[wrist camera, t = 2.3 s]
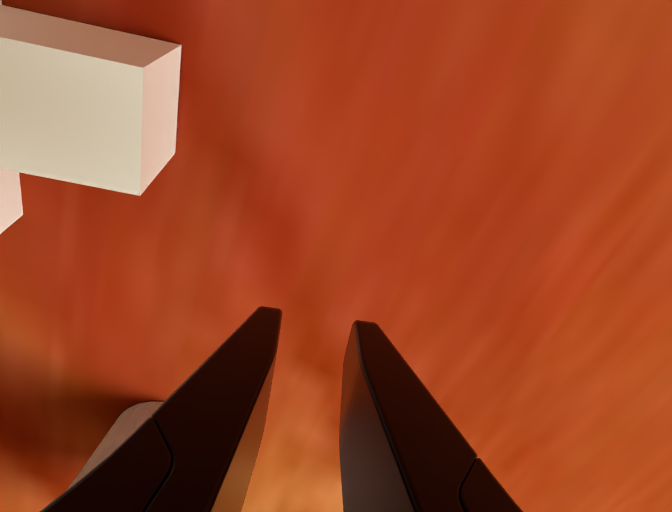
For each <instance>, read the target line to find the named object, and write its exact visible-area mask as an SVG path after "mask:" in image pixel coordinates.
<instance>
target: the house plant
mask: <svg viewBox="0 0 672 512" xmlns="http://www.w3.org/2000/svg"><path fill="white" fill-rule="evenodd" d="M163 403H164V402H145V403H139V404H136V405H134V406H132V407H130V408H128V409H126V410H125V411H124V412H123V413H122V414H121V415H120V416H119V417H118V419H117V420H116V422H115V423H114V424H113V426H112V427H111V429H110V430H109V431H108V433H107V434H106V436H105V437H104V439H103V440H102V441H101V443H100V444H99V446H98V447H97V448H96V450H95V451H94V453H93V454H92V455H91V457H90V458H89V460H88V461H87V463H86V464H85V465H84V467H83V468H82V470H81V471H80V472H79V474H78V475H77V477H76V478H75V479H74V481H73V482H72V484H71V485H70V487H71V486H73V485H74V484H75V483H76V482H78V481H79V480H80V479H81V478H83V477H84V476H85V475H86V474H87V473H89V472H90V471H91V470H92V469H93V468H95V467H96V466H97V465H98V464H99V463H101V462H102V461H103V460H104V459H105V458H107V457H108V456H109V455H110V454H111V453H112V452H113V451H114V450H115V449H116V448H117V447H118V446H120V445H121V444H122V443H123V442H124V441H125V440H126V439H127V438H128V437H129V436H130V435H131V434H132V433H133V432H134V431H135V430H136V429H137V428H138V427H139V426H140V425H141V424H142V423H143V422H144V421H145V420H146V419H147V418H149V417H151V415H152V414H153V413H154V412H155V411H156V410H157V409H158V408H159V407H160V406H161V405H162V404H163ZM70 487H69V488H70ZM69 488H68V489H69ZM68 489H67V490H68Z"/></svg>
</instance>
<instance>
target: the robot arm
mask: <svg viewBox="0 0 672 512" xmlns="http://www.w3.org/2000/svg"><path fill="white" fill-rule="evenodd" d="M281 319H282V310H280V309H277V308H271V307H264V306H261V307H259V308H258V309H257V310H256V311H255V312H254V313H253V314H252V315H251V316H250V317H249V318H248V319H247V320H246V321H245V322H244V323H243V324H242V325H241V326H240V327H239V328H238V329H237V330H236V331H235V332H234V333H233V334H232V335H231V336H230V337H229V338H228V339H227V340H226V341H225V342H224V343H223V344H222V345H221V346H220V347H219V348H218V349H217V350H216V351H215V352H214V353H213V354H212V355H211V356H210V357H209V358H208V359H207V360H206V361H205V362H204V363H203V364H202V365H201V366H200V367H199V368H198V369H197V370H196V371H195V372H194V373H193V374H192V375H191V376H190V377H189V378H188V379H187V380H186V381H185V382H184V383H183V384H182V385H181V386H180V387H179V388H178V389H177V390H176V391H175V392H174V393H173V394H172V395H171V396H170V397H169V398H168V399H167V400H166V401H165V402H164V403H163V404H162V405H161V406H160V407H159V408H158V409H157V410H156V411H155V412H154V413H153V414H152V415H151V417H149V418H147V419H146V420H145V421H144V422H143V423H142V424H141V425H140V426H139V427H138V428H137V429H136V430H135V431H134V432H133V433H132V434H131V435H130V436H129V437H128V438H127V439H126V440H125V441H124V442H123V443H122V444H121V445H120V446H118V447H117V448H116V449H115V450H114V451H113V452H112V453H111V454H110V455H109V456H108V457H107V458H105V459H104V460H103V461H102V462H101V463H99V464H98V465H97V466H96V467H95V468H93V469H92V470H91V471H90V472H89V473H87V474H86V475H85V476H84V477H83V478H81V479H80V480H79V481H78V482H76V483H75V484H74V485H73V486H71V487H70V488H69V489H68V490H66V491H65V492H64V493H63V494H61V495H60V496H59V497H58V498H56V499H55V500H54V501H53V502H51V503H50V504H49V505H48V506H46V507H45V508H44V509H43V510H41V511H40V512H241V510H242V506H243V503H244V499H245V496H246V492H247V489H248V485H249V482H250V478H251V475H252V471H253V468H254V465H255V461H256V458H257V454H258V451H259V447H260V444H261V440H262V436H263V432H264V426H265V421H266V415H267V409H268V403H269V397H270V391H271V384H272V378H273V372H274V366H275V360H276V354H277V348H278V341H279V334H280V326H281ZM339 448H340V466H341V481H342V496H343V510H344V512H523V511H522V510H521V509H520V507H519V506H518V505H517V504H516V503H515V502H514V500H513V499H512V498H511V497H510V495H509V494H508V493H507V492H506V491H505V489H504V488H503V487H502V486H501V484H500V483H499V482H498V481H497V479H496V478H495V477H494V476H493V474H492V473H491V472H490V470H489V469H488V468H487V466H486V465H485V464H484V463H483V461H482V460H481V459H480V458H477V454H476V452H475V451H474V450H473V448H472V447H471V446H470V445H469V443H468V442H467V441H466V439H465V438H464V437H463V435H462V434H461V433H460V432H459V430H458V429H457V428H456V426H455V425H454V424H453V422H452V421H451V420H450V418H449V417H448V416H447V415H446V413H445V412H444V411H443V409H442V408H441V407H440V405H439V404H438V403H437V401H436V400H435V399H434V398H433V396H432V395H431V394H430V392H429V391H428V390H427V388H426V387H425V386H424V384H423V383H422V382H421V381H420V379H419V378H418V377H417V375H416V374H415V373H414V371H413V370H412V369H411V368H410V366H409V365H408V364H407V362H406V361H405V360H404V358H403V357H402V356H401V354H400V353H399V352H398V351H397V349H396V348H395V347H394V345H393V344H392V343H391V341H390V340H389V339H388V337H387V336H386V335H385V334H384V332H383V331H382V330H381V328H380V327H379V326H378V325H377V324H376V323H373V322H366V321H360V320H356V321H355V322H354V323H353V325H352V328H351V332H350V336H349V340H348V344H347V348H346V352H345V357H344V363H343V378H342V395H341V413H340V431H339ZM476 458H477V459H476Z"/></svg>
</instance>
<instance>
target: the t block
mask: <svg viewBox="0 0 672 512" xmlns="http://www.w3.org/2000/svg"><path fill="white" fill-rule="evenodd" d="M180 61H181V45H180V44H175V43H171V42H166V41H162V40H157V39H153V38H148V37H144V36H139V35H135V34H130V33H126V32H121V31H117V30H112V29H108V28H103V27H99V26H94V25H90V24H85V23H81V22H76V21H72V20H67V19H63V18H58V17H54V16H49V15H45V14H40V13H36V12H31V11H27V10H22V9H17V8H13V7H8V6H4V5H2V0H0V234H1V233H2V232H3V231H4V230H5V229H7V228H8V227H9V226H10V225H11V224H13V223H14V222H15V221H16V220H17V219H19V218H20V217H21V216H22V215H23V208H22V198H21V188H20V179H19V172H21V173H26V174H31V175H36V176H41V177H46V178H51V179H57V180H62V181H67V182H72V183H77V184H82V185H87V186H93V187H98V188H103V189H108V190H113V191H118V192H123V193H129V194H134V195H139V196H140V195H141V194H142V193H143V192H144V190H145V189H146V188H147V187H148V186H149V184H150V183H151V182H152V181H153V180H154V178H155V177H156V176H157V175H158V173H159V172H160V171H161V170H162V169H163V167H164V166H165V165H166V164H167V162H168V161H169V160H170V159H171V158H172V156H173V155H174V154H175V146H176V129H177V112H178V95H179V78H180Z"/></svg>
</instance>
